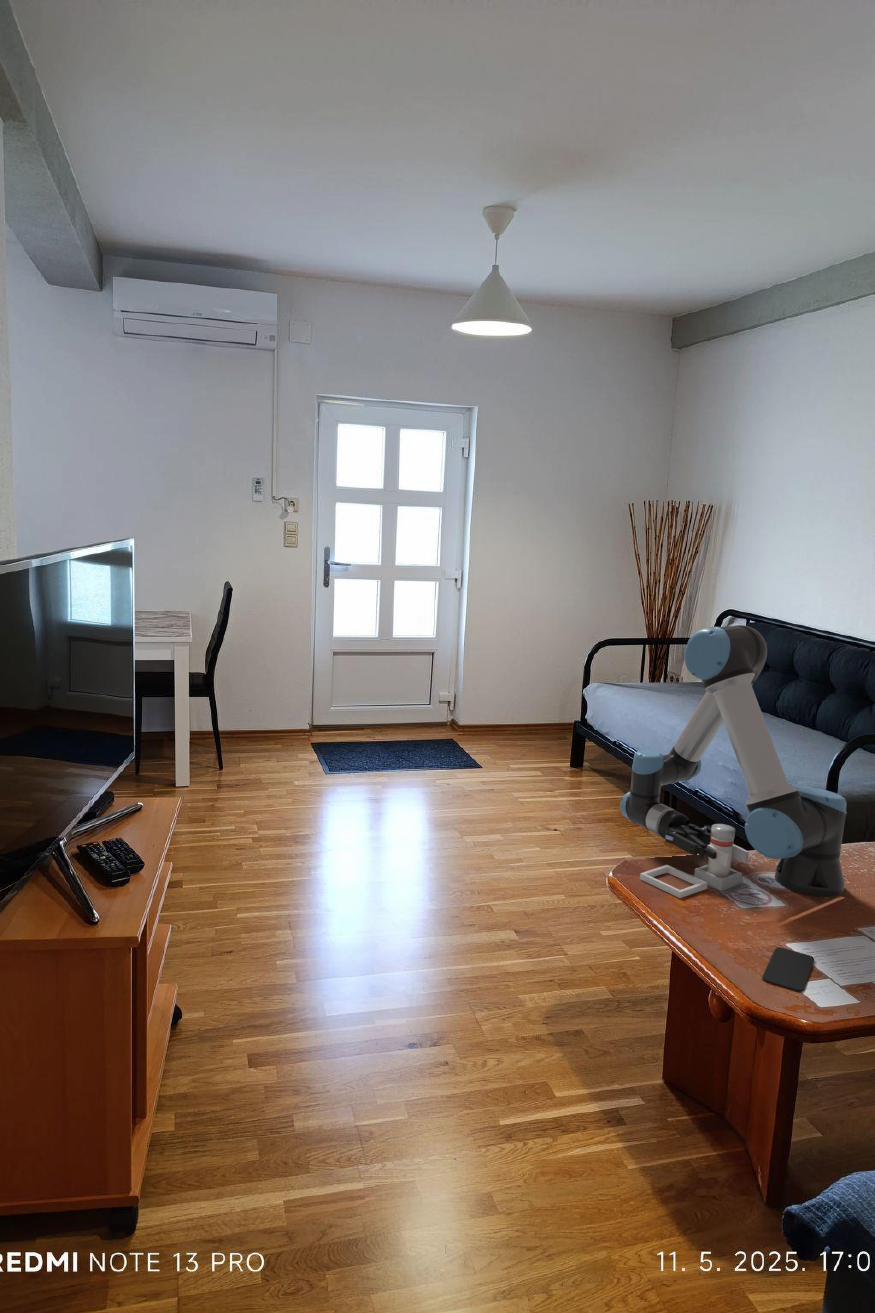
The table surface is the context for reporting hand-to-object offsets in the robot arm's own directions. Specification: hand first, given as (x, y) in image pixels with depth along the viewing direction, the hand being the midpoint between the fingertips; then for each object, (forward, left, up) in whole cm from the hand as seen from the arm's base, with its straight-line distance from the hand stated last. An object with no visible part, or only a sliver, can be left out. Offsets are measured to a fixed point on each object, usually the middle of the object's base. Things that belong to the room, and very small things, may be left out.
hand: (737, 859), depth 204 cm
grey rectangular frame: (+10, +10, -8) cm, 16 cm away
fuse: (+5, -1, -7) cm, 9 cm away
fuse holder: (+5, -1, -8) cm, 10 cm away
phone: (-27, +21, -9) cm, 35 cm away
